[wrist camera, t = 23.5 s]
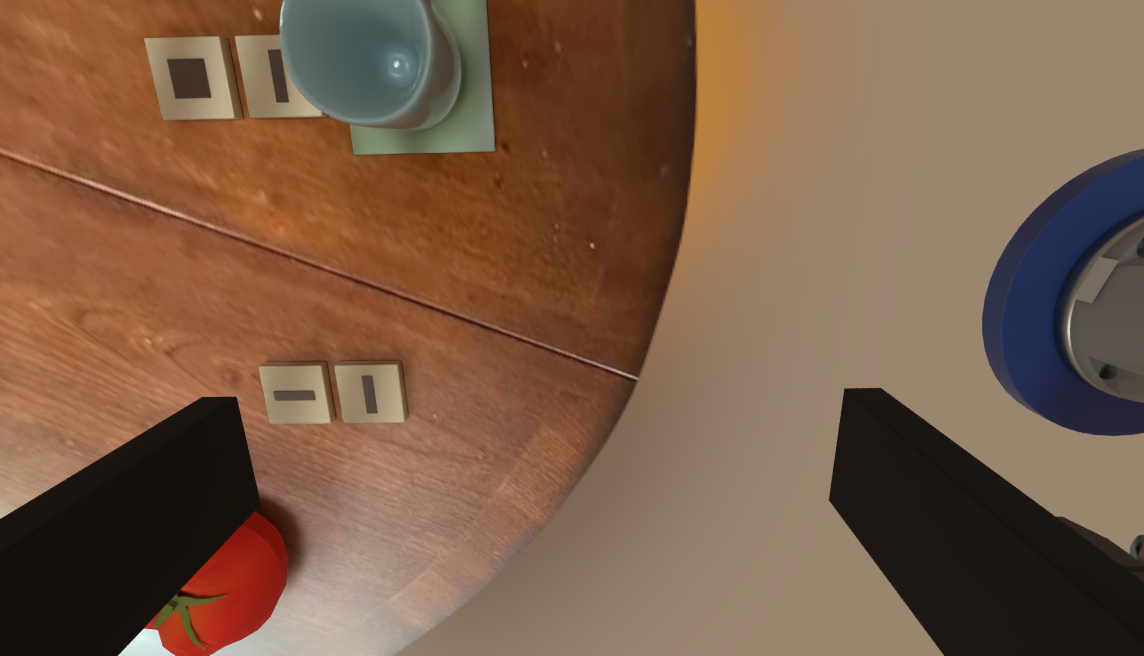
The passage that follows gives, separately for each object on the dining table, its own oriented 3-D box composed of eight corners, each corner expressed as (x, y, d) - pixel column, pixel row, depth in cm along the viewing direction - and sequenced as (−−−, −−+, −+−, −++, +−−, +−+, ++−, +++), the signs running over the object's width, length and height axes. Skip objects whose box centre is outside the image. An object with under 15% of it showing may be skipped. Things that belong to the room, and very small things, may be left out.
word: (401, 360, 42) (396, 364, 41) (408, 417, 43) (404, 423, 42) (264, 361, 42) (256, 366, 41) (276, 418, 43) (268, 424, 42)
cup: (480, 21, 34) (441, -34, 25) (467, 146, 37) (427, 138, 27) (361, -1, 34) (275, -66, 25) (355, 126, 36) (275, 111, 27)
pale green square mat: (486, -11, 34) (483, -17, 33) (495, 151, 37) (493, 151, 36) (145, -1, 35) (131, -7, 34) (182, 158, 38) (170, 158, 36)
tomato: (338, 559, 47) (287, 640, 39) (233, 612, 49) (164, 700, 41) (246, 450, 44) (170, 514, 36) (138, 512, 46) (43, 586, 38)
